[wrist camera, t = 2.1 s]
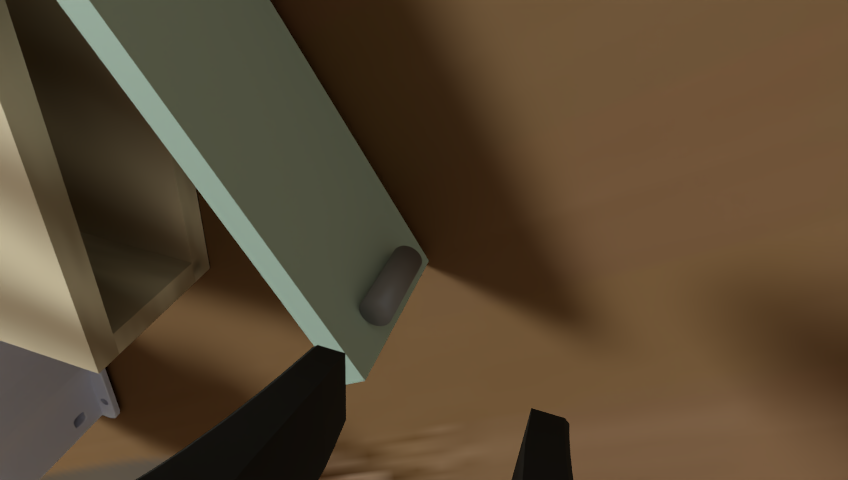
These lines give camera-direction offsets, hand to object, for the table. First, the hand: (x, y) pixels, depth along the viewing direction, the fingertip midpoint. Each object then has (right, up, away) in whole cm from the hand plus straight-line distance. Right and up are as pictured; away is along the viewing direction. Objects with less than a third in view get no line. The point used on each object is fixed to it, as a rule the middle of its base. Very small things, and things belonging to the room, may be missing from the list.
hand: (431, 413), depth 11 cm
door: (-4, +9, +7) cm, 12 cm away
